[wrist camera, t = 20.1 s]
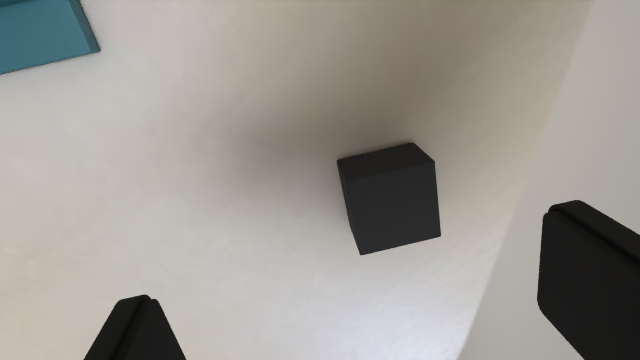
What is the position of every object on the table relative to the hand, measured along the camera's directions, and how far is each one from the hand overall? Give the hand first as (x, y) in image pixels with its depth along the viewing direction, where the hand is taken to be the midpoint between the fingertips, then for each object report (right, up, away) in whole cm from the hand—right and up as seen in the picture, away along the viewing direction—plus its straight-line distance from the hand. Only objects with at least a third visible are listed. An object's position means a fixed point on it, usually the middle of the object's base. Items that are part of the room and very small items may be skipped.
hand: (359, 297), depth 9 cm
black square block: (+3, +2, +15) cm, 16 cm away
